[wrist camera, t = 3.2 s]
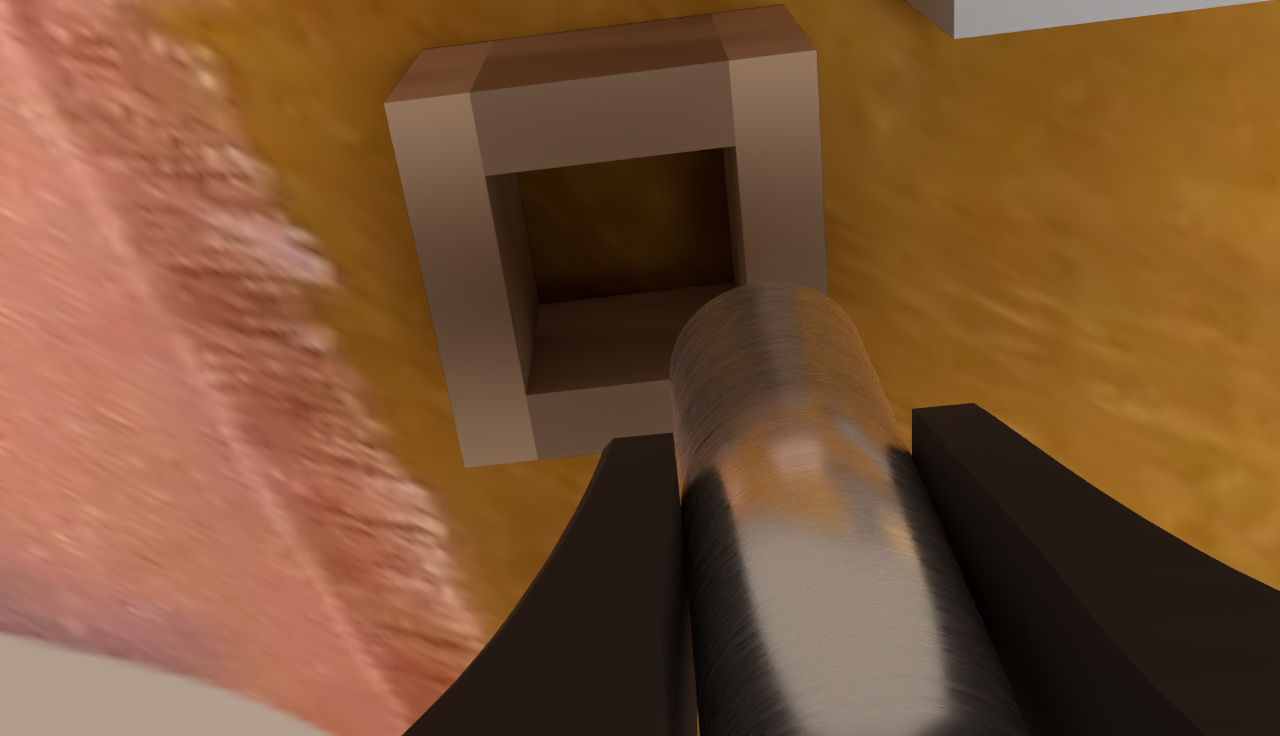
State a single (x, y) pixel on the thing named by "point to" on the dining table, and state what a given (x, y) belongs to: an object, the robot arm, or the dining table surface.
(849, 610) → the pin
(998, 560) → the robot arm
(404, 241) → the dining table surface
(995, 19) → the bay
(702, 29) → the square hole block
